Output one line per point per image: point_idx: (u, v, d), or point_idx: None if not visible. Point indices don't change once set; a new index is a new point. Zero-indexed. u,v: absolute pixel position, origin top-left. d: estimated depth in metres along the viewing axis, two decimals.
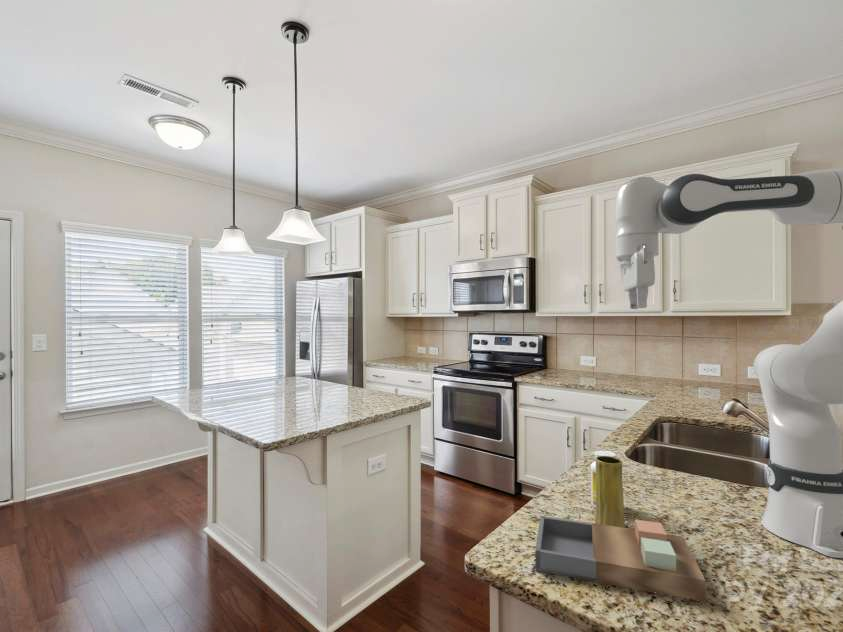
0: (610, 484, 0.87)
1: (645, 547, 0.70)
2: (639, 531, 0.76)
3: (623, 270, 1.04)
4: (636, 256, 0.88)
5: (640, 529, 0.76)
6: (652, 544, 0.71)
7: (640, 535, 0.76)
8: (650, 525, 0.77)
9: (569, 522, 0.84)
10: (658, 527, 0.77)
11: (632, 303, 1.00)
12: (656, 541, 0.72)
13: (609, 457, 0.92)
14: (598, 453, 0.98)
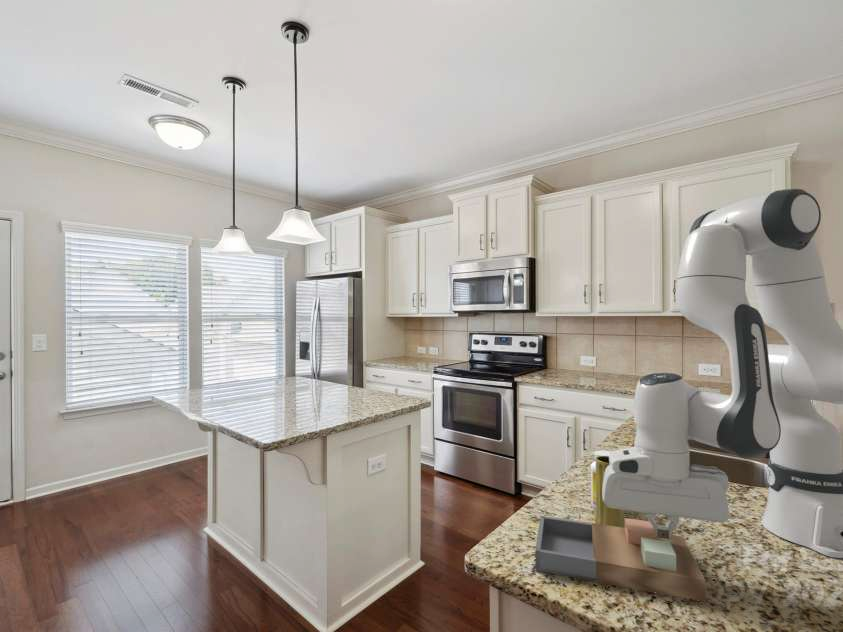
0: None
1: (645, 547, 0.70)
2: (628, 530, 0.76)
3: (618, 482, 0.77)
4: (722, 486, 0.72)
5: (630, 528, 0.77)
6: (652, 544, 0.71)
7: (629, 534, 0.76)
8: (639, 524, 0.78)
9: (569, 522, 0.84)
10: (647, 526, 0.77)
11: None
12: (656, 541, 0.72)
13: None
14: (598, 453, 0.98)
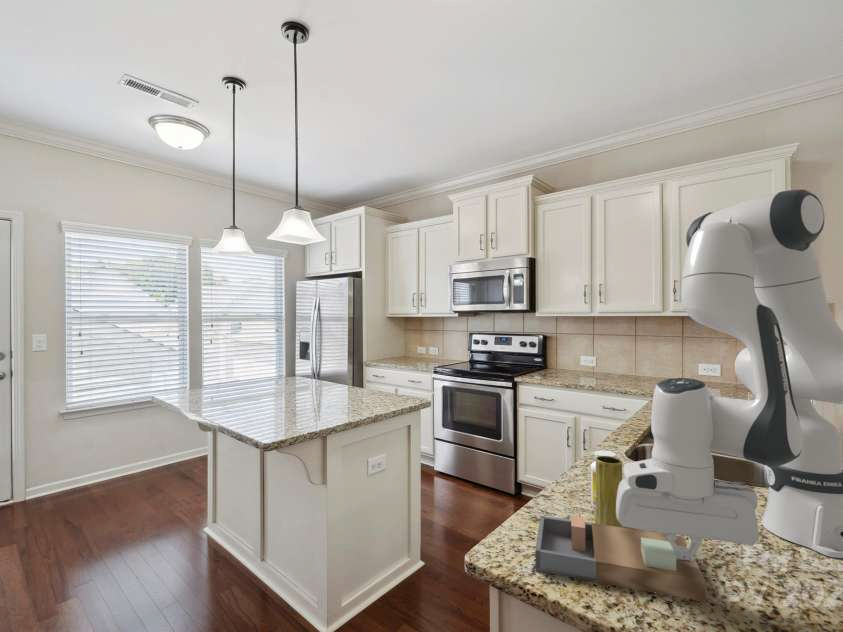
0: (610, 484, 0.87)
1: (645, 547, 0.70)
2: (572, 548, 0.80)
3: (634, 498, 0.70)
4: (751, 505, 0.65)
5: None
6: (652, 544, 0.71)
7: (576, 548, 0.79)
8: None
9: (569, 522, 0.84)
10: None
11: None
12: (656, 541, 0.72)
13: (609, 457, 0.92)
14: (598, 453, 0.98)
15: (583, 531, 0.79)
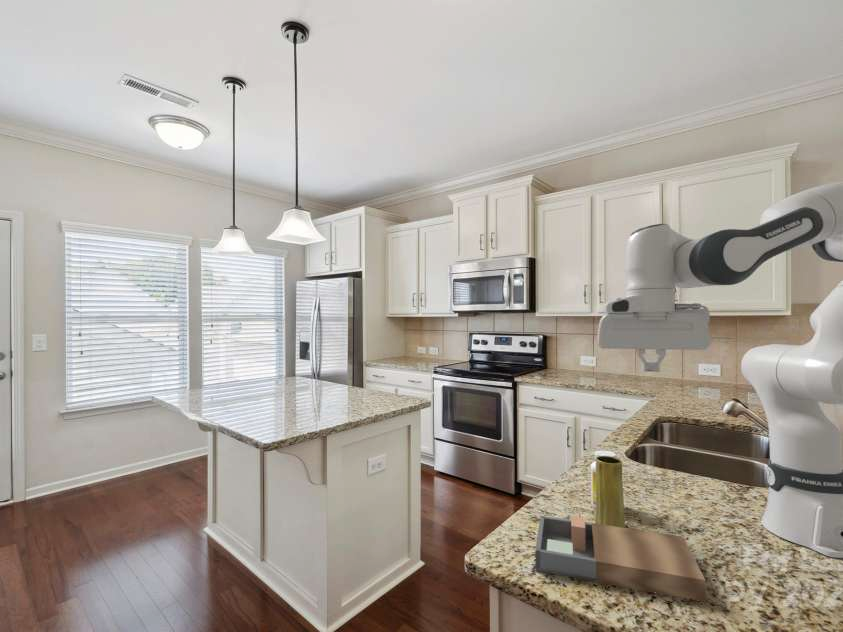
0: (610, 484, 0.87)
1: None
2: None
3: (611, 323, 0.85)
4: (704, 317, 0.80)
5: None
6: None
7: (576, 548, 0.79)
8: None
9: (569, 522, 0.84)
10: None
11: None
12: None
13: (609, 457, 0.92)
14: (598, 453, 0.98)
15: (583, 531, 0.79)
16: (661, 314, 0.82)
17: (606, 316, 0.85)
